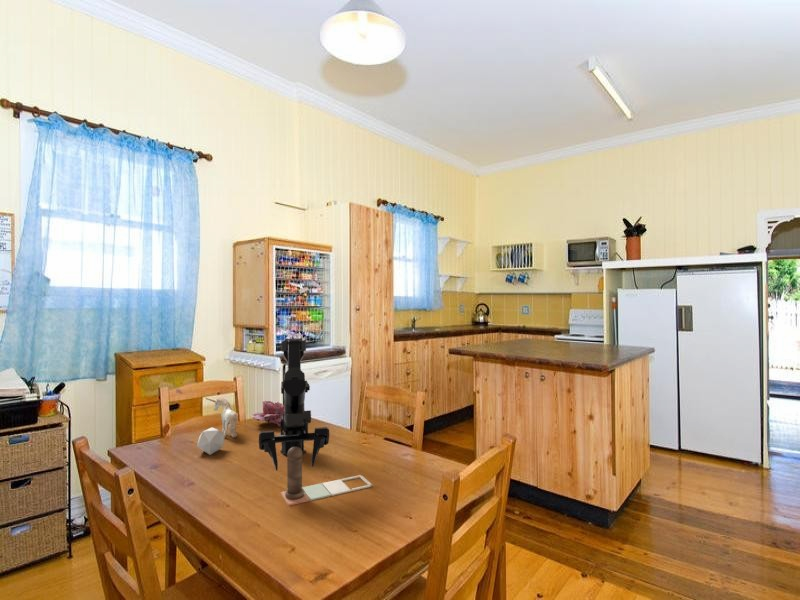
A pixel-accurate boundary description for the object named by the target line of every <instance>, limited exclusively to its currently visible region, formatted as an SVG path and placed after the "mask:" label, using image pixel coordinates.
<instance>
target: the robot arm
mask: <svg viewBox="0 0 800 600" xmlns="http://www.w3.org/2000/svg"><path fill="white" fill-rule="evenodd" d="M280 345H281V346H280V347H281V353H283V358H284V360H285V362H286V364H287V370H286V371H285V373H284V374H283V380H282V381H281V383H280V394H282V395H283V397H284V399H283V401H284V404H283V405H284V413H283V419H281V426H280V434H278V435H275V430H264V431H260V433H258V447H259V450H261V451H264V453H268V454H269V456H270V458H271V460H272V464H273V465H274V469H275V471H277V472H278V468H279V467H278V466H279V465H278V455H277V448H276V444H277V443H278V444H279V443H281V450H280V453H281V454H283V455H285V456H287V452H288V450H289V449H290V448H291V447H295V446H296V447H299V448H300V449H301V450H302V454H305V453H307V450H306V449H305V446H304V445H305V444H304V443H305V442H306V441H313V444H312V445H313V446H312V455H311V468H314V466H315V463H316V459H317V456H318V454H319V451H320V449H324V447H325V446H327V445H329V442H330V441H329V440H330V428H329V427H328V426H324V427H323V426H322V427H314V432H309V424H311V423H312V410H305V409H306V408H305V402H306V401H305V398H306V393H308V392H309V391H310V390H311V389H310V388H311V386H310V383H309V382H308V380H306V378H305V377H306V376H305V372H303V370H302V368H301V367H302V366H301V364H302V363H301V362H302V360H303V358H304V355H305V352H306V351H307V341H306V340H303V338H302V337H301V338H296V337H295V338H294V337H293V338H284V340H282V341H281V344H280Z"/></svg>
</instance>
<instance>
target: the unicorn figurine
mask: <svg viewBox="0 0 800 600" xmlns="http://www.w3.org/2000/svg"><path fill="white" fill-rule="evenodd" d="M204 399H205V400H208V401H210V402H212V403H214V407H213V410H214V411H219V409H220V407H222V411H221V415H220V417H221V418H220V419H221V422H222V429H221V432H222V433H223V434H224V435H225V436H224V439H226V438H227V437H228V436H229V437H230V436H231V437H232V438H237V435H238V434H237V421H238V413H237V412H235V411H234V410H232V406H231V403H230V401H228V400H226V398H225V397H217V398H215V399H211V398H208V397H204ZM227 432H228V436H227ZM225 437H226V438H225Z"/></svg>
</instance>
